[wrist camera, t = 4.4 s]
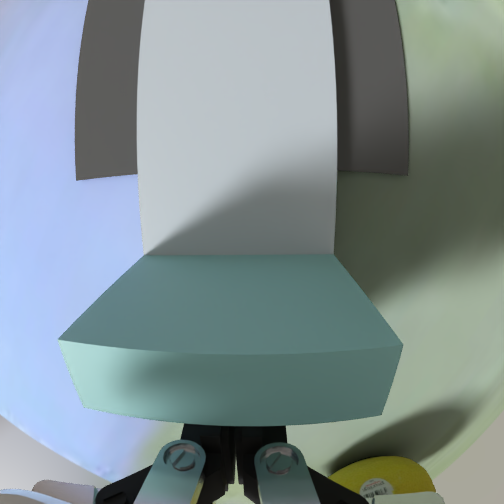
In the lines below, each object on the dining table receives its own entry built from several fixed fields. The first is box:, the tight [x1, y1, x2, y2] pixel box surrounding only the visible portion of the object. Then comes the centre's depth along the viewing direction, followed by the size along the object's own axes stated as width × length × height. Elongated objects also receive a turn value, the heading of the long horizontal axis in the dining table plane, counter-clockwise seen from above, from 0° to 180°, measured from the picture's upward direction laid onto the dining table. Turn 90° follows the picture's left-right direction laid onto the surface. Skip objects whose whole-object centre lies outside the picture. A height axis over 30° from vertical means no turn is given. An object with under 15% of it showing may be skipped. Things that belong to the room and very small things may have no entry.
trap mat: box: [75, 0, 409, 181], centre depth 10 cm, size 14×12×1 cm
